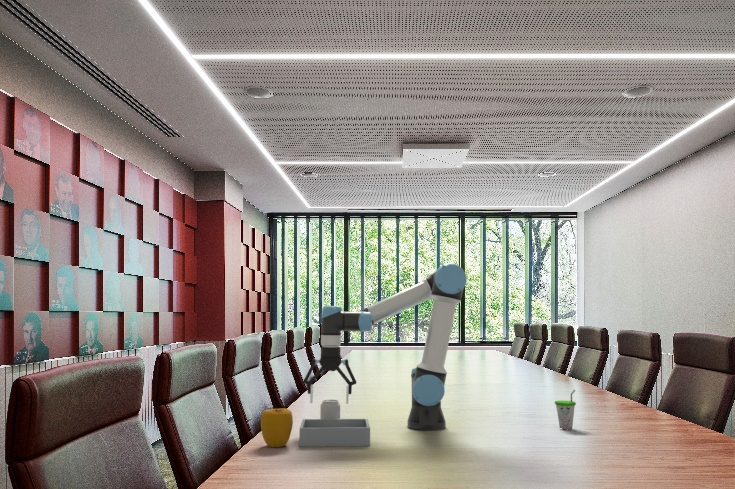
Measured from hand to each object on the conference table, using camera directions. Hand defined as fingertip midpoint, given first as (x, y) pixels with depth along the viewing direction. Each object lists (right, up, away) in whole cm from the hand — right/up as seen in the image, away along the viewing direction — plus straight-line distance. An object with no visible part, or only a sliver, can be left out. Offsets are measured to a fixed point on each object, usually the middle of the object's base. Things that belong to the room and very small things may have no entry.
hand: (329, 403), depth 234 cm
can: (0, -11, -1) cm, 11 cm away
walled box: (+3, -9, -16) cm, 19 cm away
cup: (+92, -12, +7) cm, 93 cm away
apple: (-17, -9, -24) cm, 31 cm away
